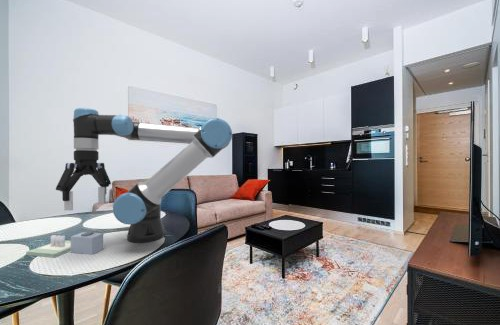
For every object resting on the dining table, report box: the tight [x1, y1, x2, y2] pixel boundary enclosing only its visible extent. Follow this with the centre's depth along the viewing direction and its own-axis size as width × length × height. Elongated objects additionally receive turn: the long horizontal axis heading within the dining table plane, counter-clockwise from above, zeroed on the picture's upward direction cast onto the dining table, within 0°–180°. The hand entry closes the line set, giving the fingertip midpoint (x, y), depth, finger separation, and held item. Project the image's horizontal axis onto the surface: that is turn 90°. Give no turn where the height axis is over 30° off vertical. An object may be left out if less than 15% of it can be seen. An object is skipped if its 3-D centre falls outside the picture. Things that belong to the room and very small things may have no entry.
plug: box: [70, 231, 104, 255], centre depth 82 cm, size 9×5×7 cm, turn 81°
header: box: [25, 234, 71, 258], centre depth 83 cm, size 12×12×5 cm
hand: (86, 206), depth 82 cm, fingers open, 13 cm apart
